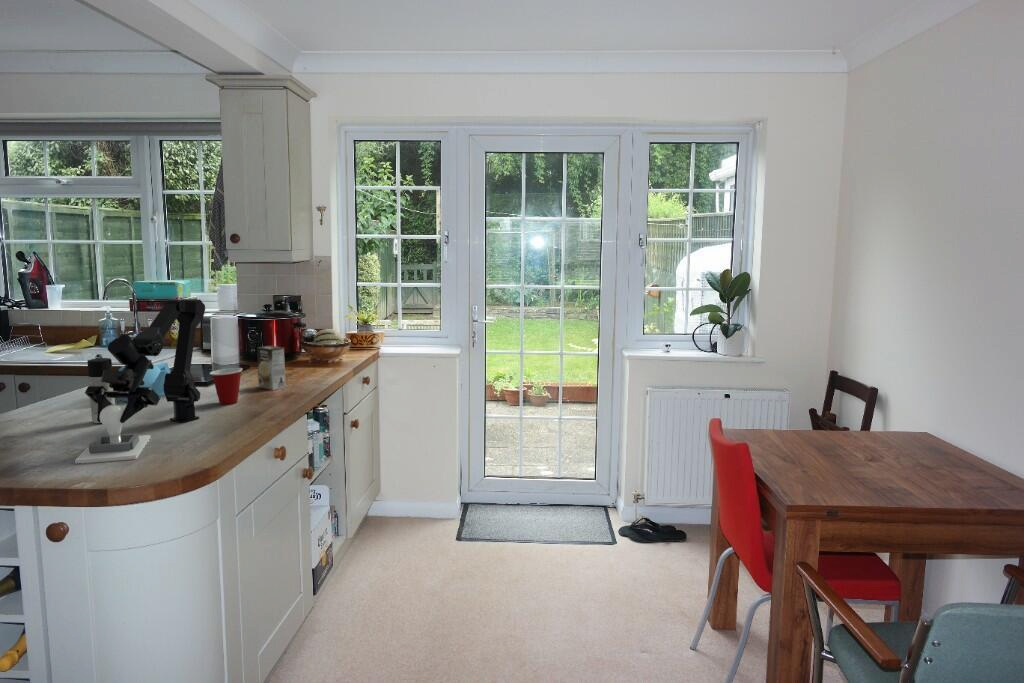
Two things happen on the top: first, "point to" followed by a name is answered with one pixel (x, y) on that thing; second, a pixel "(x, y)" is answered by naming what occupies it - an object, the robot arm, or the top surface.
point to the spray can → (98, 380)
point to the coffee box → (271, 367)
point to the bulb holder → (113, 449)
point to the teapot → (154, 378)
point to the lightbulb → (112, 422)
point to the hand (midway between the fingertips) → (109, 422)
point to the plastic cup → (227, 384)
